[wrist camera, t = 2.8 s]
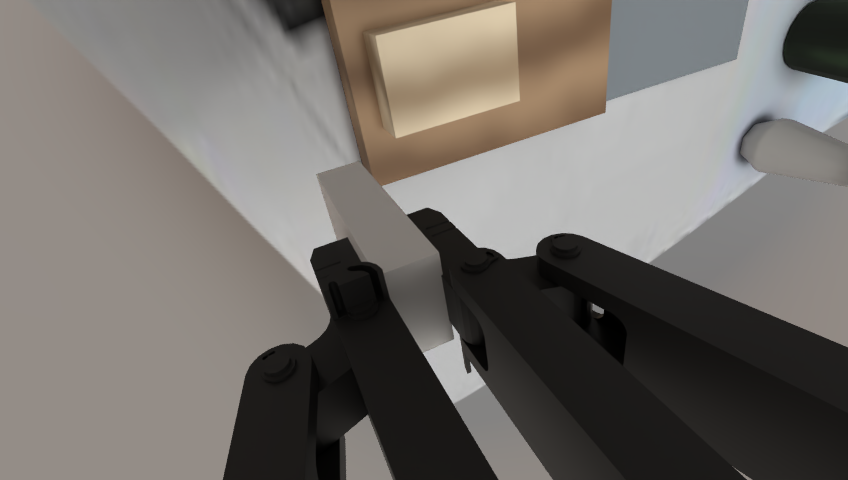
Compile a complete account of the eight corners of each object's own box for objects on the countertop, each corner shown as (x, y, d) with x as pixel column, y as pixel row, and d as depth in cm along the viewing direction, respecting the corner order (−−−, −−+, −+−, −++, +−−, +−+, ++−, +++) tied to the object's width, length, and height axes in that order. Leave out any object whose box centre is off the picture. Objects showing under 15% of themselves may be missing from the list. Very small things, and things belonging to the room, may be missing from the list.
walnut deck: (311, -40, 27) (319, -42, 25) (591, -94, 32) (617, -99, 30) (365, 175, 34) (375, 188, 32) (584, 105, 39) (605, 112, 37)
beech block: (362, 31, 27) (375, 35, 25) (494, 0, 30) (515, 1, 28) (383, 128, 31) (395, 138, 29) (500, 93, 33) (519, 100, 31)
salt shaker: (727, 147, 49) (868, 193, 39) (765, 102, 48) (919, 136, 38) (744, 174, 53) (878, 222, 42) (780, 132, 52) (926, 171, 41)
